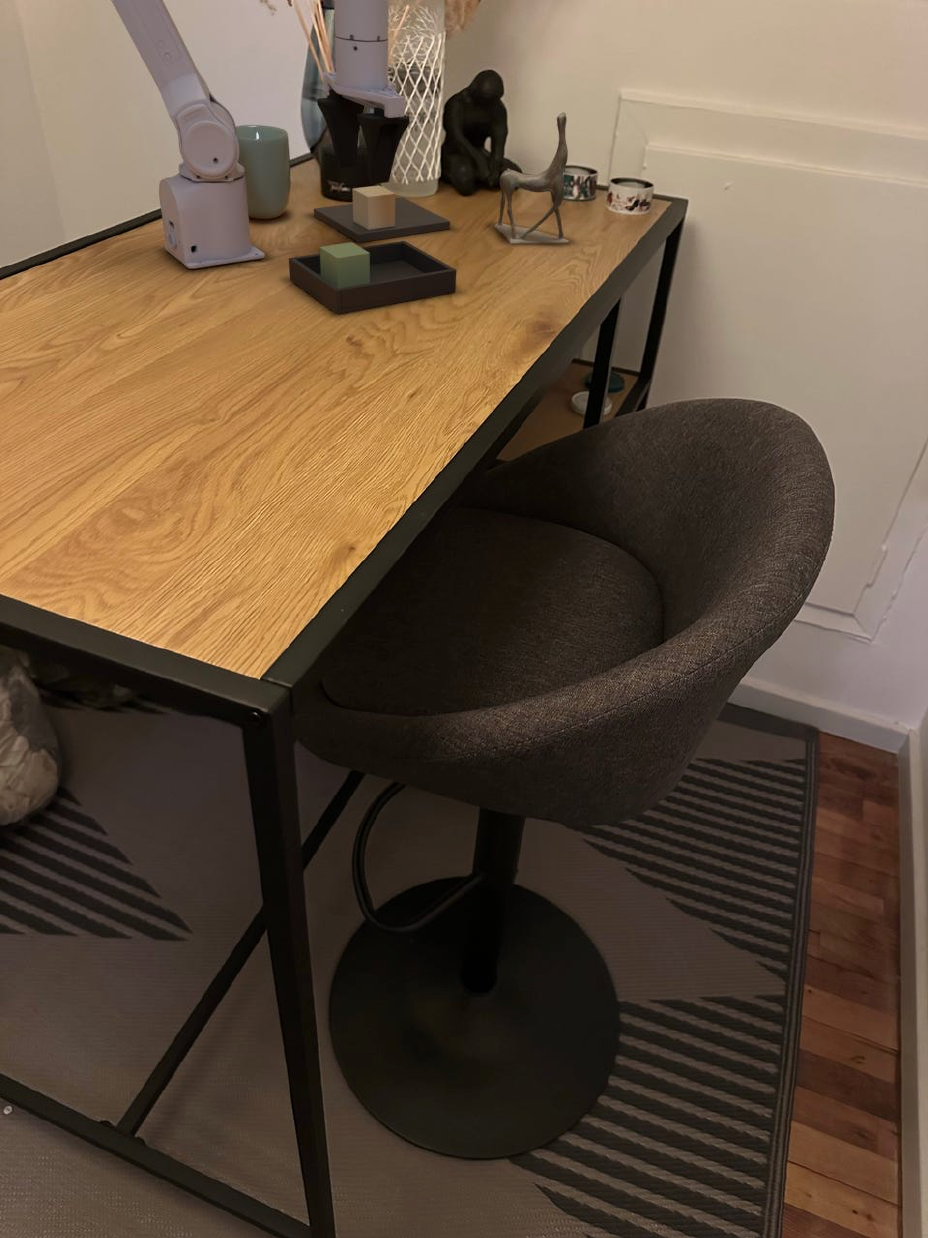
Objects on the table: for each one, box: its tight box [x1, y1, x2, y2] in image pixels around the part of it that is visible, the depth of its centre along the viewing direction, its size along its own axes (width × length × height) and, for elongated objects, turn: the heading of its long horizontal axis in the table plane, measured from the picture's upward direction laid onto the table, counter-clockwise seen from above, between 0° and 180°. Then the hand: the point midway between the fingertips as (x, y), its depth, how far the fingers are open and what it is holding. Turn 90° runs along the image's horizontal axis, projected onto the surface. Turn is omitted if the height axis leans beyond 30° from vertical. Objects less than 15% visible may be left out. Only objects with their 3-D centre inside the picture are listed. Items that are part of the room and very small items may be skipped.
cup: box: [235, 124, 292, 220], centre depth 117 cm, size 8×8×10 cm
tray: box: [288, 240, 458, 315], centre depth 102 cm, size 15×11×2 cm
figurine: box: [493, 112, 569, 245], centre depth 115 cm, size 11×6×15 cm, turn 57°
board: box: [313, 197, 451, 243], centre depth 121 cm, size 14×12×1 cm
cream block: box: [352, 185, 396, 230], centre depth 116 cm, size 4×4×4 cm
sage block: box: [319, 241, 370, 288], centre depth 100 cm, size 4×4×4 cm
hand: (362, 173), depth 106 cm, fingers open, 7 cm apart
